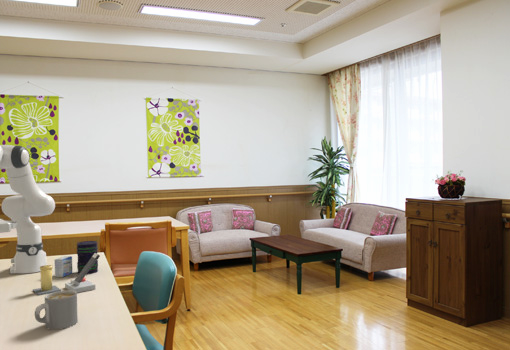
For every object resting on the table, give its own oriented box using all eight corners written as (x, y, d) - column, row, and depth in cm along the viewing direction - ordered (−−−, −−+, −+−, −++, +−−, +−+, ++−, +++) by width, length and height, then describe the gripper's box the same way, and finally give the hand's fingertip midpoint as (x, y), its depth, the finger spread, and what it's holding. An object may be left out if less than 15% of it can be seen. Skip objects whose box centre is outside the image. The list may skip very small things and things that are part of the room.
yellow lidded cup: (38, 289, 189) (38, 266, 188) (51, 287, 192) (50, 264, 192) (42, 291, 185) (41, 268, 185) (54, 289, 188) (54, 266, 188)
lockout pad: (32, 290, 189) (32, 289, 189) (54, 286, 195) (54, 285, 195) (38, 295, 182) (38, 293, 182) (61, 291, 188) (61, 289, 188)
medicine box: (62, 277, 211) (62, 259, 211) (54, 277, 212) (54, 259, 212) (72, 273, 219) (72, 256, 219) (64, 273, 220) (64, 255, 220)
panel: (65, 287, 193) (64, 280, 193) (85, 283, 199) (85, 276, 199) (74, 293, 184) (73, 285, 184) (95, 289, 190) (95, 281, 190)
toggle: (71, 282, 190) (94, 252, 197) (74, 284, 191) (96, 254, 197) (75, 284, 187) (98, 254, 193) (78, 286, 188) (100, 256, 194)
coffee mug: (73, 316, 155) (72, 288, 155) (81, 324, 147) (80, 295, 147) (31, 325, 147) (30, 296, 147) (37, 334, 139) (36, 303, 139)
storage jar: (95, 268, 228) (94, 240, 228) (100, 272, 220) (99, 242, 220) (75, 271, 223) (74, 242, 222) (79, 275, 214) (78, 245, 214)
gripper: (-17, 221, 164) (24, 218, 173) (-25, 217, 180) (13, 214, 189) (-16, 238, 164) (25, 234, 173) (-25, 232, 180) (13, 228, 189)
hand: (18, 223), depth 181 cm, fingers open, 8 cm apart
